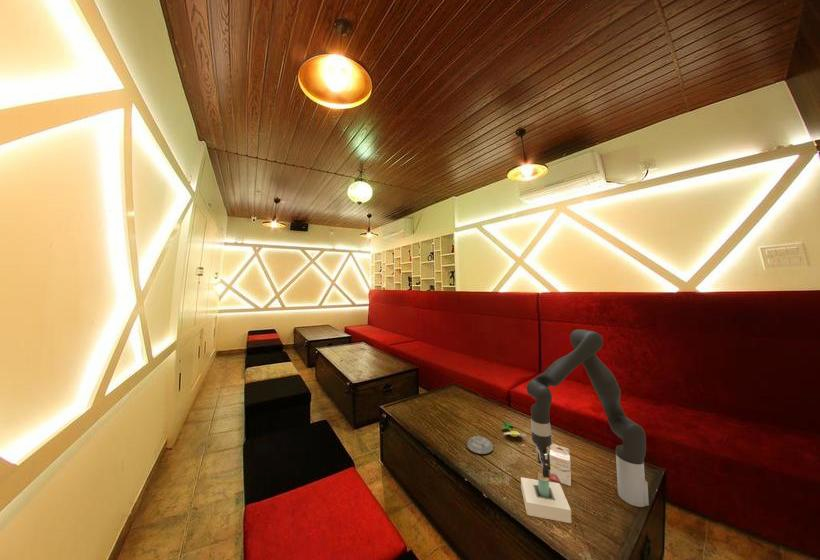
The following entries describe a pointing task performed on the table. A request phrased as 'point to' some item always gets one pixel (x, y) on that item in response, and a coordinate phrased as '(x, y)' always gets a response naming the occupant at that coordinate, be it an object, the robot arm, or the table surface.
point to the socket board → (545, 501)
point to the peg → (543, 485)
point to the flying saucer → (479, 445)
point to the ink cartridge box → (560, 464)
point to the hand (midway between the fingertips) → (543, 469)
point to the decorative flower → (511, 433)
